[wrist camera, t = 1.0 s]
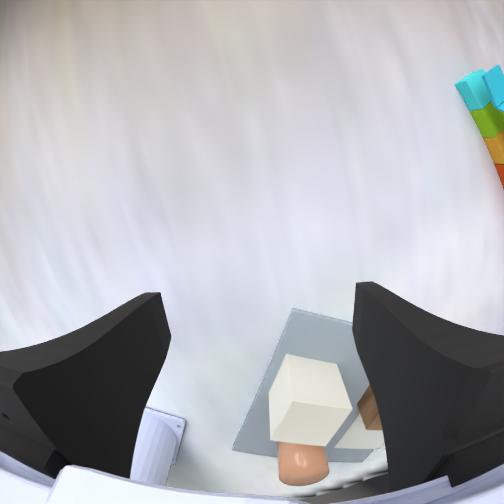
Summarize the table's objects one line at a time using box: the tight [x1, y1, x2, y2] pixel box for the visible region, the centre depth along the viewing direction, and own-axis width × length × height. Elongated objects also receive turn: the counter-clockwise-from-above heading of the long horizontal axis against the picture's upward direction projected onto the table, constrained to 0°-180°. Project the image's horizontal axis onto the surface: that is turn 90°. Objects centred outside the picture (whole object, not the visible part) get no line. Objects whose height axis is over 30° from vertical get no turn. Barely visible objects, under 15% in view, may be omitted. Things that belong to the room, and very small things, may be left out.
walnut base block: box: [357, 385, 382, 430], centre depth 22 cm, size 6×6×4 cm
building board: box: [232, 308, 384, 462], centre depth 25 cm, size 18×16×1 cm
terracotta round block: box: [277, 441, 329, 486], centre depth 23 cm, size 4×4×6 cm
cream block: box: [269, 354, 352, 446], centre depth 21 cm, size 4×4×6 cm
